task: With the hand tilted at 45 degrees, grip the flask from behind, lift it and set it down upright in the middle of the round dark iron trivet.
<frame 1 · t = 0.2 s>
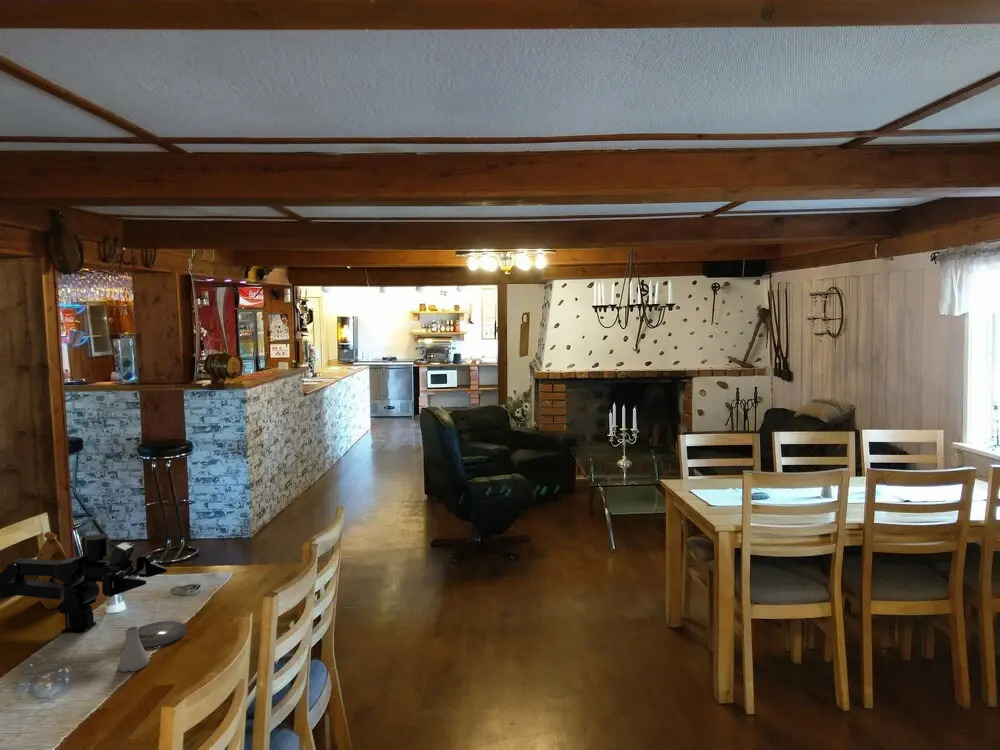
hand: (156, 576, 195), 17 cm above the table, tool horizontal, fingers open, 9 cm apart
flask: (134, 666, 178), on the table
coffee package: (56, 602, 219), on the table
trivet: (156, 636, 194), on the table
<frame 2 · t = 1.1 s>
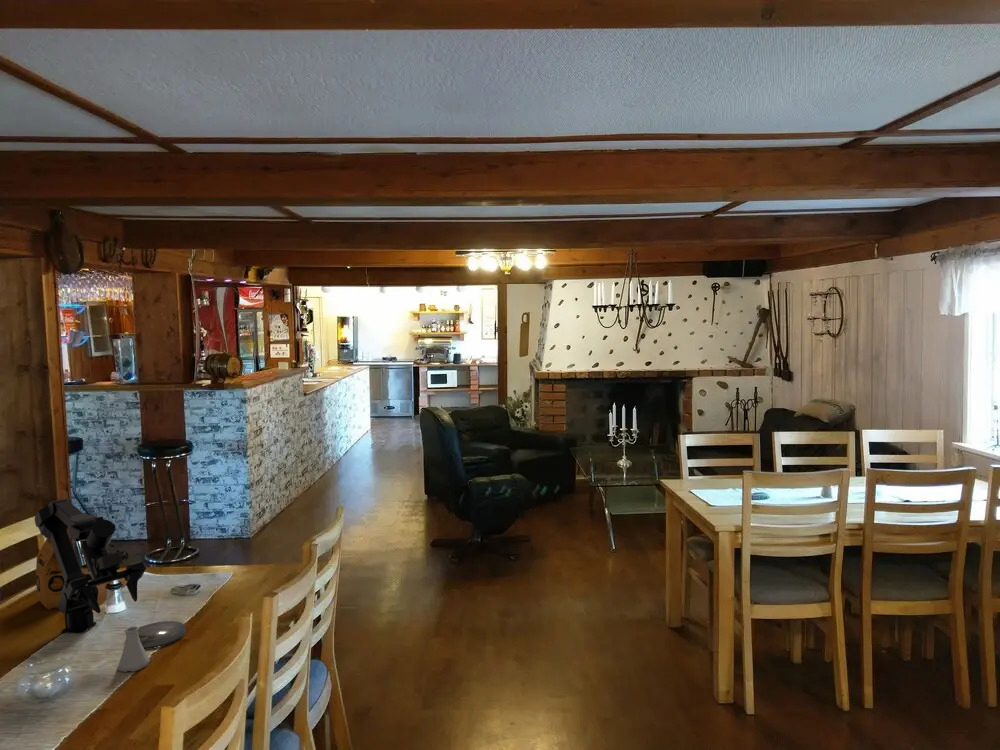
hand: (118, 606, 182), 14 cm above the table, tool tilted 45°, fingers open, 9 cm apart
nothing on the table moved.
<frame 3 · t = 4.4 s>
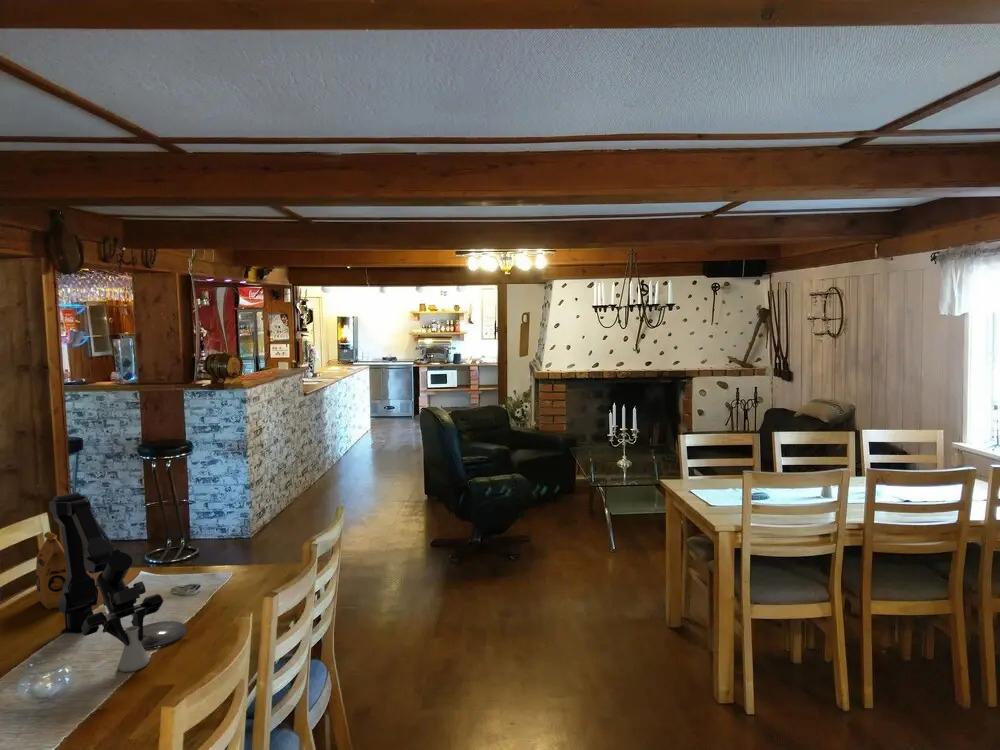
hand: (135, 642, 176), 7 cm above the table, tool tilted 45°, fingers closed on flask, 3 cm apart
flask: (133, 666, 178), on the table, touching gripper
everything else where it was.
when the fingers open (9 cm above the table, at t = 8.4 s): flask stays where it is, resting on trivet.
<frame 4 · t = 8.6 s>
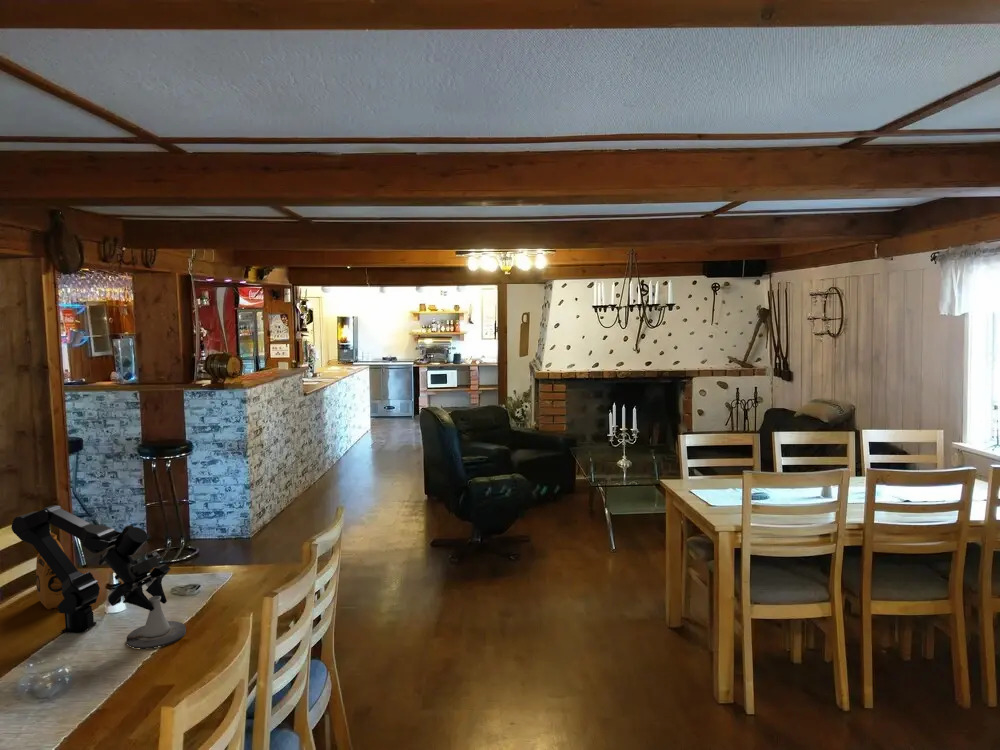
hand: (159, 606, 193), 9 cm above the table, tool tilted 45°, fingers open, 5 cm apart
flask: (156, 632, 194), point 1 cm above the table, touching trivet
everything else where it was.
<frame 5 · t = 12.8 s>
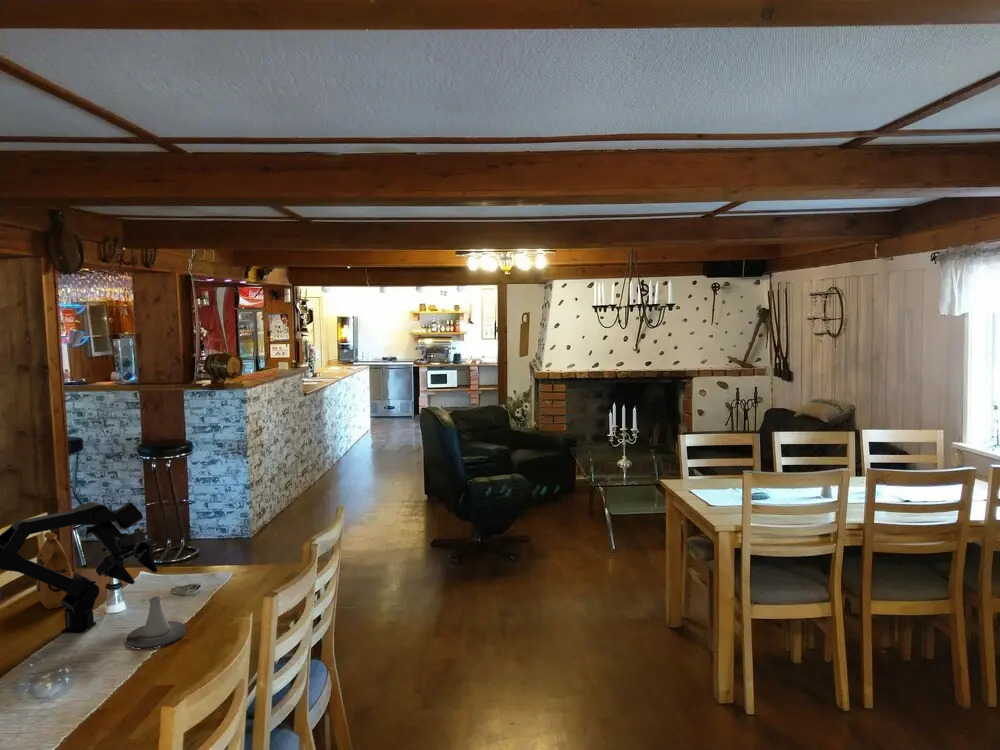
hand: (145, 577, 203), 14 cm above the table, tool tilted 45°, fingers open, 9 cm apart
nothing on the table moved.
at the end: flask inside the target area on the trivet (0.0 cm from its centre), point 1.1 cm above the trivet's base; flask tilted 0°; the gripper is holding nothing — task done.
